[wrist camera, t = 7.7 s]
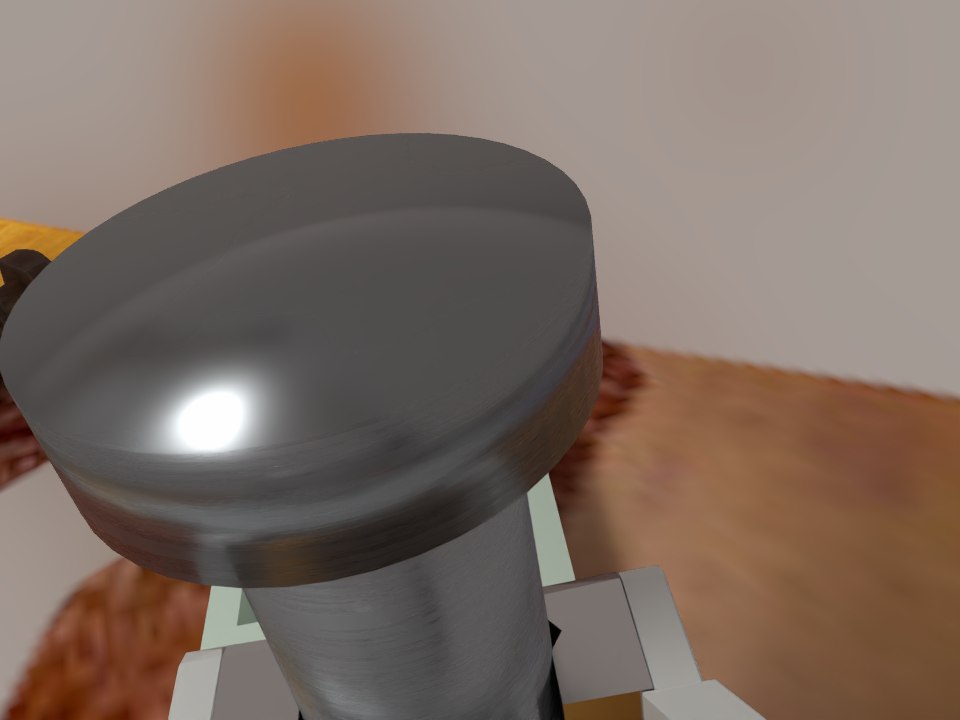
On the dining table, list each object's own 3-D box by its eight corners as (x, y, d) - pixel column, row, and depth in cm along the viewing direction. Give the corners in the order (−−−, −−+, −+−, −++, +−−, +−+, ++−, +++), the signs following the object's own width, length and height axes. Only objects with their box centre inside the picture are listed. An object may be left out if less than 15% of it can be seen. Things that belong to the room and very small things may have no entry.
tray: (232, 720, 27) (198, 661, 25) (264, 475, 36) (240, 419, 34) (586, 651, 27) (577, 587, 25) (530, 423, 36) (520, 364, 34)
